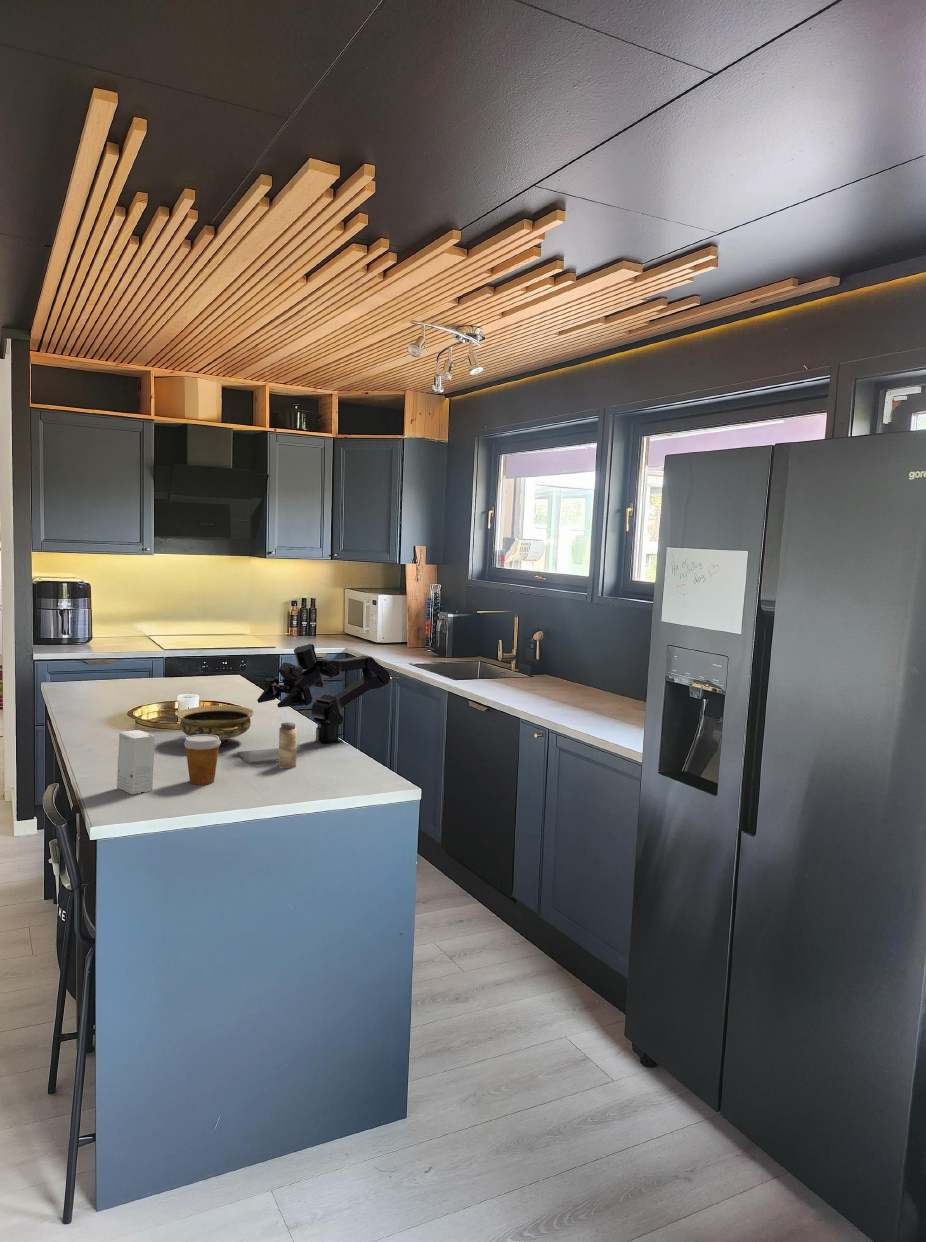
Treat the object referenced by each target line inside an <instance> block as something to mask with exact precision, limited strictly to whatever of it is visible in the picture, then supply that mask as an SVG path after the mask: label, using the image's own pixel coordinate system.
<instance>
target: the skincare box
mask: <svg viewBox="0 0 926 1242" xmlns="http://www.w3.org/2000/svg"><path fill="white" fill-rule="evenodd" d="M118 733H119V734H118V735H119V738H118V754H117V755H118V756H117V776H116V788H117V789H118V788H119V789H118V790H121V789H122V790H121V791H123V790H124V792H125V793H128V794H129V795H138V794H142V793H141V792H144V793H147V792H146V791H149V792H152V791H153V784H154V782H153V781H154V761H155V744H156V743H155V742H156V741H155V740H156V737H155V735H152V734H151V733H148V732H146V731H142V730H140V729H136V730H135V729H134V730H129V731H128V730H127V731H120V732H118ZM151 790H152V791H151ZM137 793H138V794H137Z"/></svg>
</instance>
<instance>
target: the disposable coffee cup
mask: <svg viewBox="0 0 926 1242" xmlns="http://www.w3.org/2000/svg"><path fill="white" fill-rule="evenodd" d="M220 744H221V741H220V739H219V737H218V736H216V735H209V734H200V735H192V736H188V735H187V736H186V738H185V740H184V742H183V745H184V747H185V752H186V761H187V767H188V768H187V769H188V776H189V777H188V778H189V783H190V784H191V783H192V784H191V785H195V784H196V785H197V786H201V785H202V786H205V785H209V784H212V783H214V782H215V778H216V770H217V765H218V756H219V750H220V746H221V745H220Z"/></svg>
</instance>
